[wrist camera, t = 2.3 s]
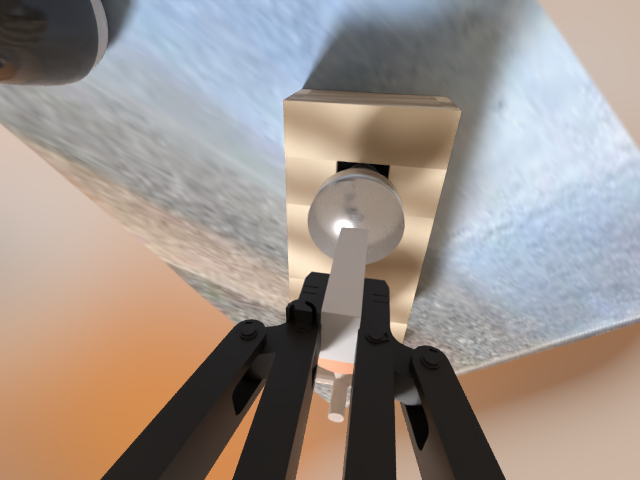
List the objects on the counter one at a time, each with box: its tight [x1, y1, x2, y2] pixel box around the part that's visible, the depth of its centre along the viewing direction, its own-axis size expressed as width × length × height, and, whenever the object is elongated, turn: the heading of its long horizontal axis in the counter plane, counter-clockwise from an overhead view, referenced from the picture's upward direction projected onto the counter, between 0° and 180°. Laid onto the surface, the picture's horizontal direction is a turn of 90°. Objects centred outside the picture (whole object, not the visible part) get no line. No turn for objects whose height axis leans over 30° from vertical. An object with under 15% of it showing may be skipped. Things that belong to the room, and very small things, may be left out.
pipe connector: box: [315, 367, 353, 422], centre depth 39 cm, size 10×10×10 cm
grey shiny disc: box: [307, 163, 405, 264], centre depth 23 cm, size 6×6×8 cm
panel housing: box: [283, 89, 462, 344], centre depth 30 cm, size 24×12×6 cm, turn 178°
